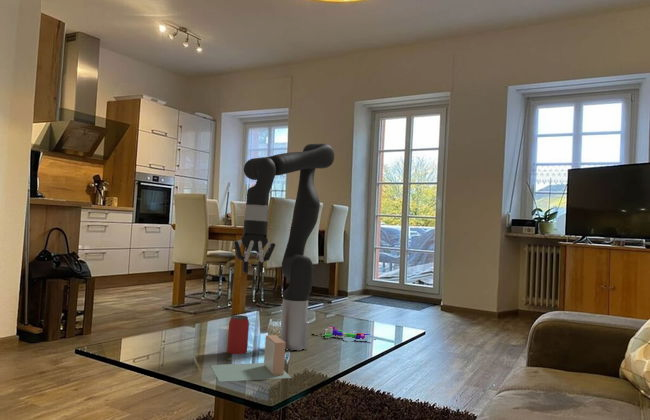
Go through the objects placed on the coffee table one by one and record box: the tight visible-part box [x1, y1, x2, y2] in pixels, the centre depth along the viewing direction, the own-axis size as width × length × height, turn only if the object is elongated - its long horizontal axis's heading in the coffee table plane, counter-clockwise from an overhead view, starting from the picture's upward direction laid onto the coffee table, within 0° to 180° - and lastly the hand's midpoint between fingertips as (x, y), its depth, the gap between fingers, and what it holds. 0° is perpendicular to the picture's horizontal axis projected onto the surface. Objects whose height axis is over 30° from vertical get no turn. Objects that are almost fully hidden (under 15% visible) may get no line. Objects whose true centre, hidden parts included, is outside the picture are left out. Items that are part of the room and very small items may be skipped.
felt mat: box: [209, 362, 293, 383], centre depth 134 cm, size 20×16×1 cm
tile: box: [263, 334, 286, 375], centre depth 137 cm, size 3×10×9 cm, turn 22°
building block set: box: [324, 325, 371, 339], centre depth 195 cm, size 25×20×4 cm
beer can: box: [226, 314, 250, 355], centre depth 156 cm, size 7×7×12 cm
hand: (252, 273), depth 150 cm, fingers open, 3 cm apart
